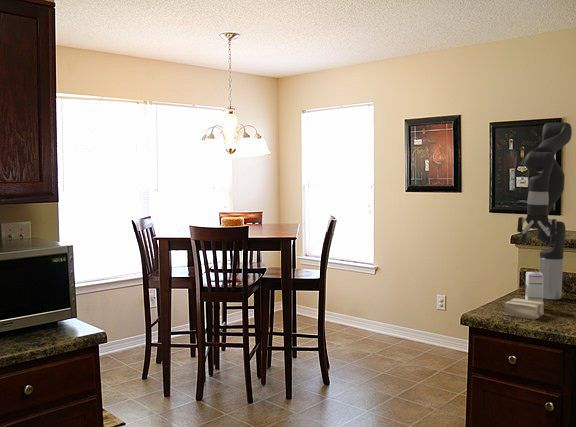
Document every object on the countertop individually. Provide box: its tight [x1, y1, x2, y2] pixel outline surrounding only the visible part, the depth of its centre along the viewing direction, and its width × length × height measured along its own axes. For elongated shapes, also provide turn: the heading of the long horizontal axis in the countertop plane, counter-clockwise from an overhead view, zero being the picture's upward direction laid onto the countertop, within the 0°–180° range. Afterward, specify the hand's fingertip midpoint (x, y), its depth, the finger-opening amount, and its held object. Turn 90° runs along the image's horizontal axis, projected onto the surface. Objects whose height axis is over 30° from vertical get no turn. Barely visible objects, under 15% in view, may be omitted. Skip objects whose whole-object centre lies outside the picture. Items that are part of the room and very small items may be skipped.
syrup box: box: [524, 271, 544, 302], centre depth 230 cm, size 6×6×14 cm
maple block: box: [503, 297, 545, 321], centre depth 221 cm, size 11×11×5 cm
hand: (536, 244), depth 229 cm, fingers open, 8 cm apart
